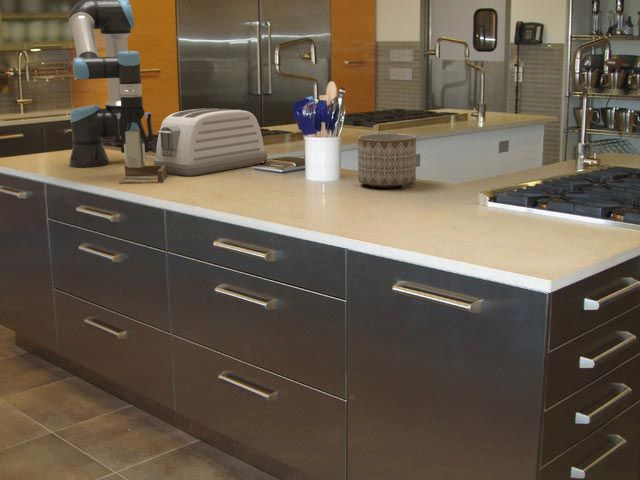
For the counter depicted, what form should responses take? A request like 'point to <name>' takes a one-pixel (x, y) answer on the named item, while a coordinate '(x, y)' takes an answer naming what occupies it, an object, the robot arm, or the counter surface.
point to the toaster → (209, 141)
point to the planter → (387, 159)
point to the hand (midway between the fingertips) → (135, 161)
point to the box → (134, 149)
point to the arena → (145, 174)
